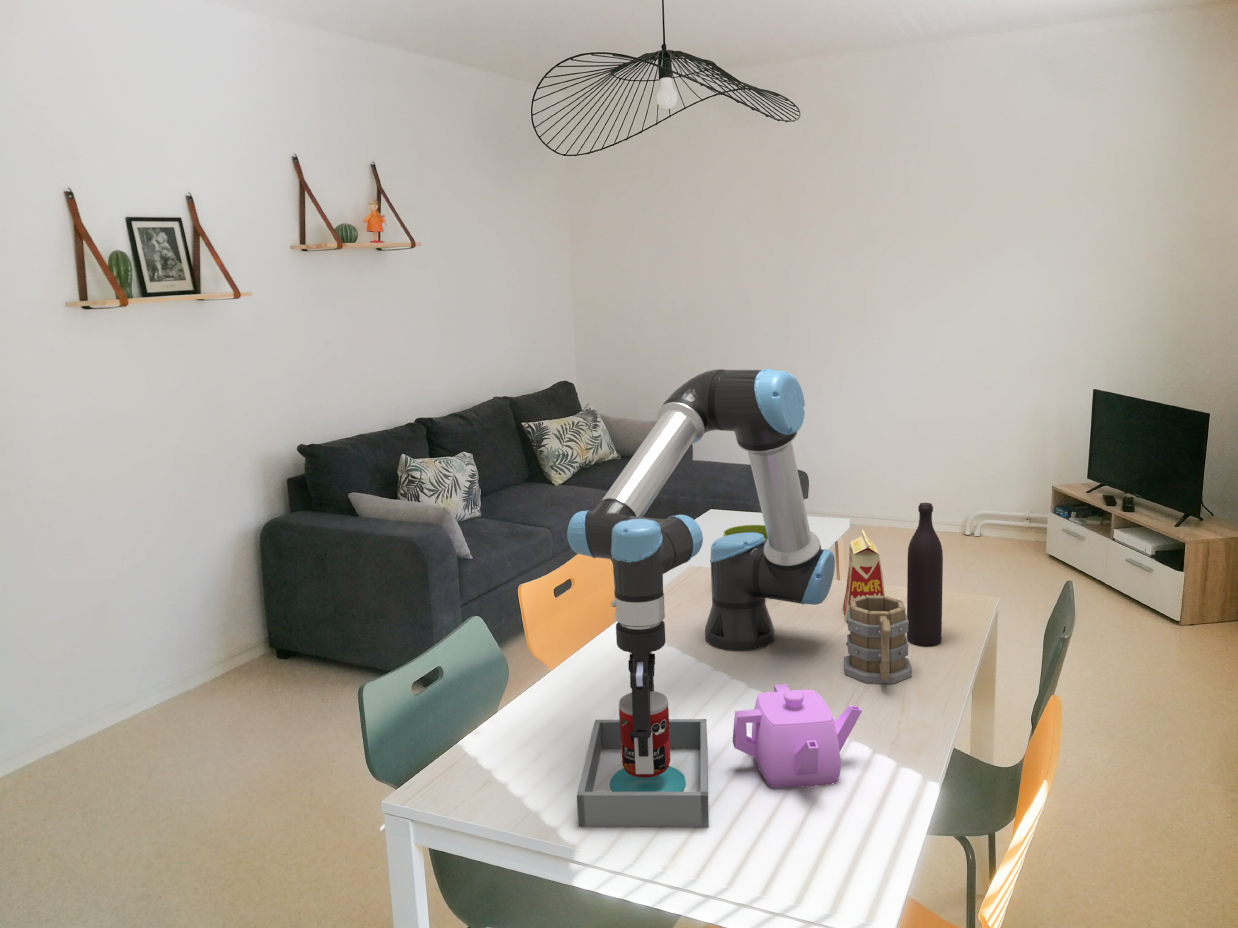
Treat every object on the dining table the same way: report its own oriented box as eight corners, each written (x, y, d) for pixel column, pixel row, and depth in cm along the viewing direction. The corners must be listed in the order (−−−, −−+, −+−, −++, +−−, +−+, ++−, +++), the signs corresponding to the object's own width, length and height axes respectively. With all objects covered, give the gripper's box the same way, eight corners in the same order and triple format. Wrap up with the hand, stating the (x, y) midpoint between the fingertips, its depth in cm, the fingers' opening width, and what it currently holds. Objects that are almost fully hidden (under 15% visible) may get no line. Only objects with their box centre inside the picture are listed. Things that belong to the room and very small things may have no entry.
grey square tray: (596, 746, 160) (594, 719, 159) (707, 746, 158) (706, 718, 157) (578, 826, 136) (576, 795, 136) (708, 826, 135) (707, 795, 134)
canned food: (617, 777, 144) (614, 710, 142) (627, 751, 151) (624, 688, 149) (666, 780, 142) (663, 713, 140) (674, 754, 150) (671, 690, 148)
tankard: (843, 657, 192) (842, 588, 190) (906, 659, 190) (907, 588, 187) (848, 699, 173) (847, 623, 170) (918, 701, 171) (919, 624, 168)
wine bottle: (948, 641, 198) (950, 503, 192) (927, 649, 194) (929, 509, 188) (921, 632, 204) (922, 498, 198) (899, 639, 200) (900, 504, 194)
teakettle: (777, 731, 162) (775, 664, 160) (867, 759, 151) (867, 688, 149) (721, 772, 150) (719, 700, 148) (816, 806, 139) (815, 729, 137)
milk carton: (841, 610, 220) (841, 528, 216) (882, 610, 218) (882, 527, 215) (845, 623, 211) (845, 538, 207) (887, 624, 209) (888, 538, 206)
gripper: (621, 599, 153) (627, 727, 157) (609, 647, 132) (616, 793, 137) (667, 598, 152) (672, 727, 156) (661, 646, 132) (668, 793, 136)
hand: (646, 758), depth 146 cm, fingers closed on canned food, 8 cm apart
